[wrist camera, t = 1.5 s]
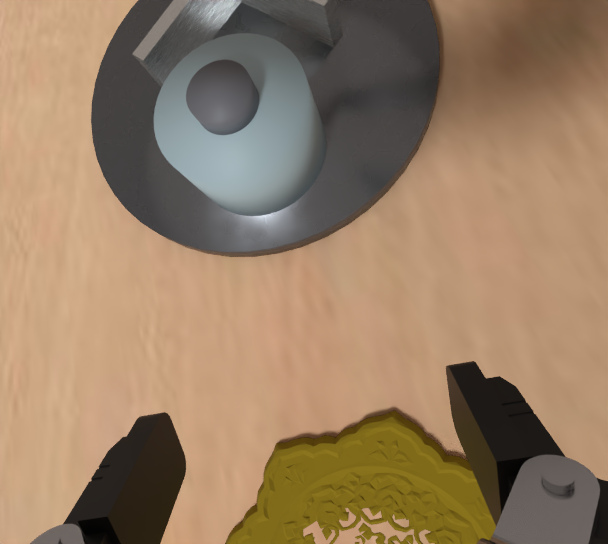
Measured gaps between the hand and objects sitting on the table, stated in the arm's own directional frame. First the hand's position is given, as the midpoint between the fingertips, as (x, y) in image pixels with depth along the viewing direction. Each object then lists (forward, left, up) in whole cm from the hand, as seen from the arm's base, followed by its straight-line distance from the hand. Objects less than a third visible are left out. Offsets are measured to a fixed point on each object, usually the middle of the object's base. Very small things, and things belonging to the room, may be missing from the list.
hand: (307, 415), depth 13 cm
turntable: (-17, -18, -17) cm, 30 cm away
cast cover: (-12, -14, -16) cm, 24 cm away
